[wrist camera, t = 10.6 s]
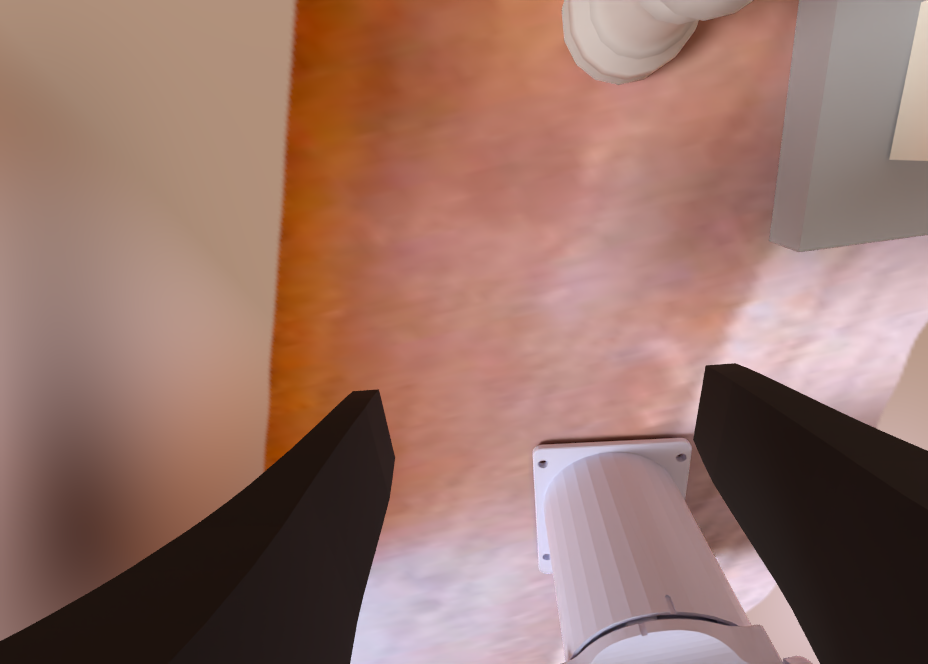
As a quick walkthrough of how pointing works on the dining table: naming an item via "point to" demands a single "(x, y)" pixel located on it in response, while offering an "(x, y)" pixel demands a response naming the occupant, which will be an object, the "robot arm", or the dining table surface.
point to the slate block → (847, 129)
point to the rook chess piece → (634, 33)
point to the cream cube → (914, 99)
